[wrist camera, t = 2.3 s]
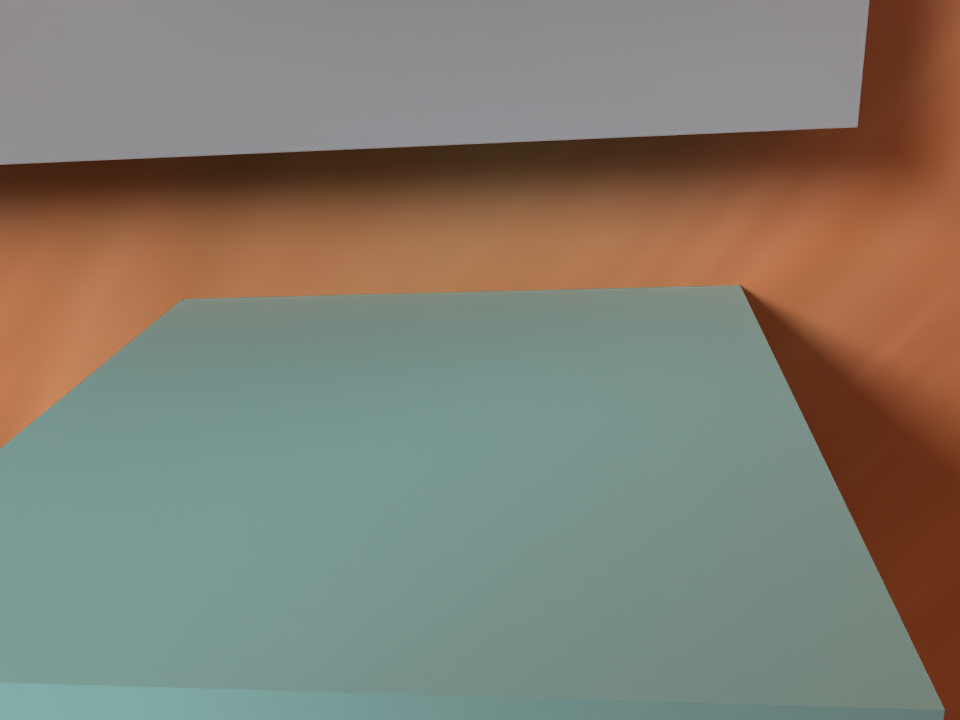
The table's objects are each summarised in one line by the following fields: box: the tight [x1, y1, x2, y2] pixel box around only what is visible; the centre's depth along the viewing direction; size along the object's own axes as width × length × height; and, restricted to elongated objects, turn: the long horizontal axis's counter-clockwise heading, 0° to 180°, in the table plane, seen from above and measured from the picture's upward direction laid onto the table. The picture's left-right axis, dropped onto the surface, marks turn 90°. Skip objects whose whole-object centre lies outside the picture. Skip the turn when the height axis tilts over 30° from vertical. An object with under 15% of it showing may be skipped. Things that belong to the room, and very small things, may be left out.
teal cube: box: [0, 285, 945, 720], centre depth 7 cm, size 5×5×5 cm
